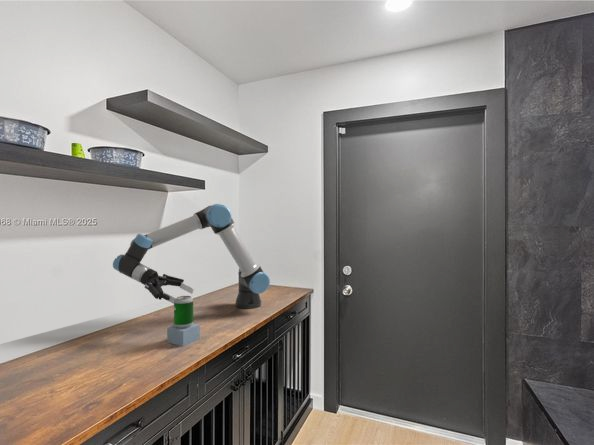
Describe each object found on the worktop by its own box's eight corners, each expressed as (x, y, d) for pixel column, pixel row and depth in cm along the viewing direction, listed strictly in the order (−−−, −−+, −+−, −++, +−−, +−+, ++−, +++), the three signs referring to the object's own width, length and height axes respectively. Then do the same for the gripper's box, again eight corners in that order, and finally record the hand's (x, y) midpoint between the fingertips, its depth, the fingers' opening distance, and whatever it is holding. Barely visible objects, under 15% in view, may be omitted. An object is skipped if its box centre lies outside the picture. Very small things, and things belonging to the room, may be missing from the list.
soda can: (196, 324, 134) (196, 295, 134) (185, 329, 126) (186, 300, 126) (181, 322, 136) (181, 294, 136) (170, 328, 129) (170, 298, 129)
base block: (184, 335, 137) (184, 321, 137) (199, 338, 133) (199, 324, 133) (167, 342, 129) (167, 327, 129) (183, 346, 125) (183, 331, 125)
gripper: (159, 275, 157) (196, 293, 155) (123, 291, 133) (166, 314, 130) (164, 261, 156) (201, 280, 153) (128, 276, 131) (172, 298, 129)
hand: (185, 296), depth 142 cm, fingers open, 13 cm apart
